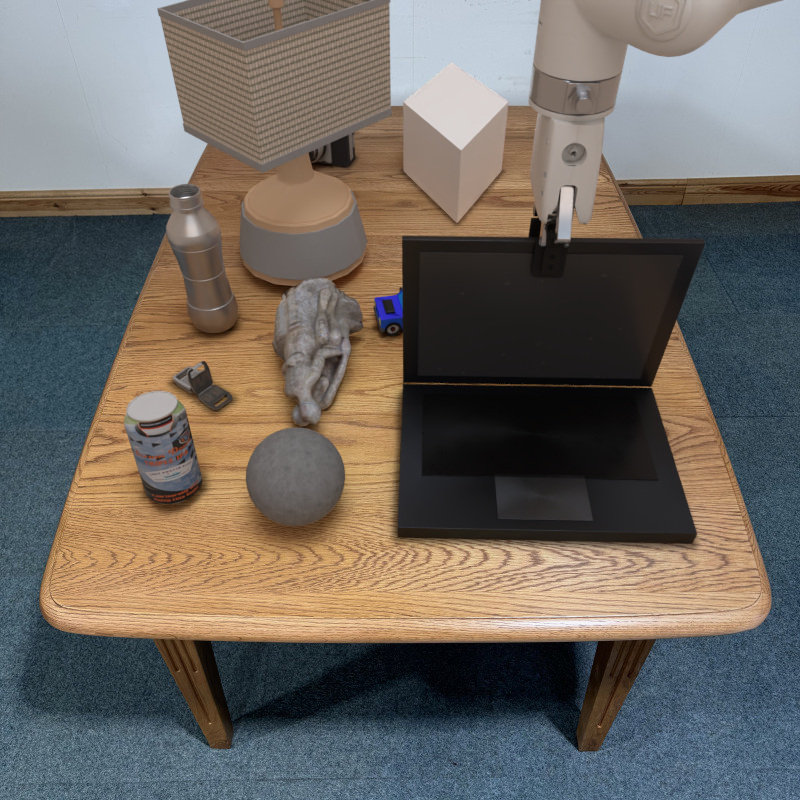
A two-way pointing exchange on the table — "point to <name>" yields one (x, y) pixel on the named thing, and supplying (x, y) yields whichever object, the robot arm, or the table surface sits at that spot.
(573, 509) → the laptop
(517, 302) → the laptop screen
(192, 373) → the strap clip
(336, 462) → the decorative ball
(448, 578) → the table surface
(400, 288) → the toy car
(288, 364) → the sculpture
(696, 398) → the table surface
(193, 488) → the beverage can
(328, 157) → the camera
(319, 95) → the desk lamp
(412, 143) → the block
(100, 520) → the table surface
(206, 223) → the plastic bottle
